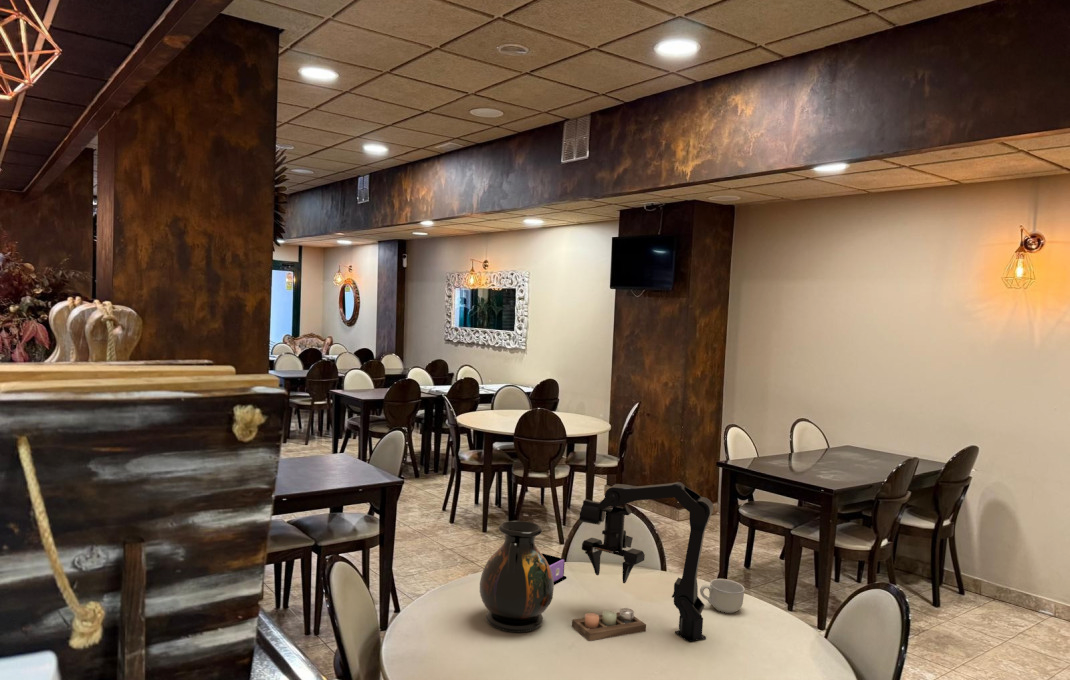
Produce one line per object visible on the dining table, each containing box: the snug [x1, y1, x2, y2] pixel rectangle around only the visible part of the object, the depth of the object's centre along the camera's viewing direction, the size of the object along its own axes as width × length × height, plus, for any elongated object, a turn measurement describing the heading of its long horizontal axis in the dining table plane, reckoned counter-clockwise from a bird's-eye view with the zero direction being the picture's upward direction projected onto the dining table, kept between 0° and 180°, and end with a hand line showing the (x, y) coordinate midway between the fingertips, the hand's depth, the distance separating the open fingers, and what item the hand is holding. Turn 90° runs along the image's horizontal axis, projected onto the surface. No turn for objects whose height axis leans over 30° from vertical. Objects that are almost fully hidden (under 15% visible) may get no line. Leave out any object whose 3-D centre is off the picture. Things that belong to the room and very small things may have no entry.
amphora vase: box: [479, 520, 555, 633], centre depth 205 cm, size 22×22×28 cm
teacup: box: [699, 578, 746, 614], centre depth 225 cm, size 14×11×8 cm
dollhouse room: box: [540, 552, 568, 586], centre depth 243 cm, size 12×12×7 cm
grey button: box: [619, 607, 635, 624], centre depth 207 cm, size 4×4×3 cm
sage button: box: [602, 610, 618, 627], centre depth 204 cm, size 4×4×3 cm
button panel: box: [571, 611, 647, 642], centre depth 204 cm, size 10×19×2 cm, turn 117°
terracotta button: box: [584, 612, 599, 629], centre depth 202 cm, size 4×4×3 cm
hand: (610, 579), depth 212 cm, fingers open, 9 cm apart
